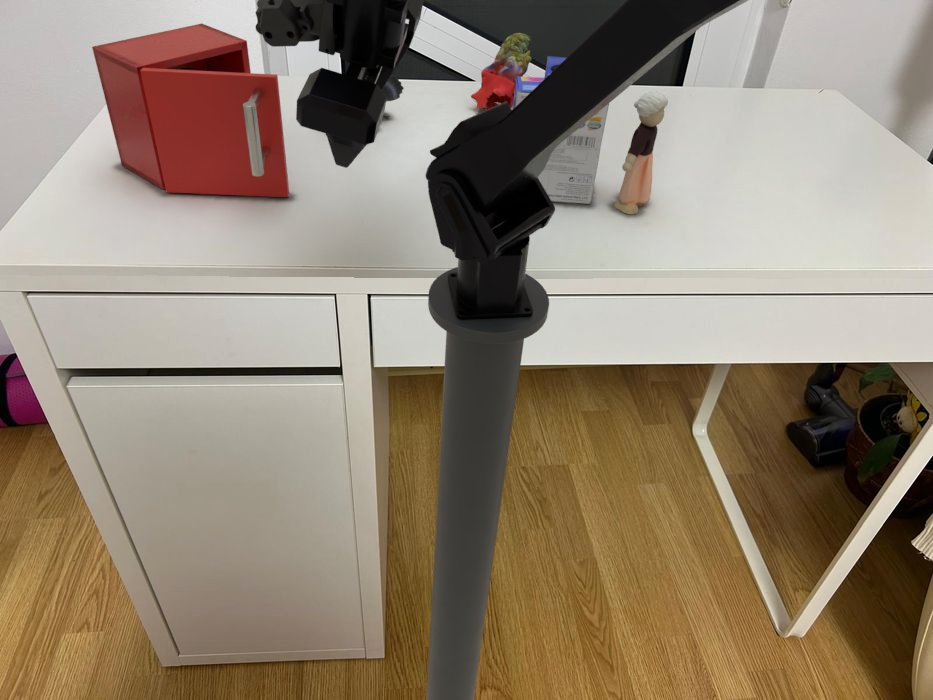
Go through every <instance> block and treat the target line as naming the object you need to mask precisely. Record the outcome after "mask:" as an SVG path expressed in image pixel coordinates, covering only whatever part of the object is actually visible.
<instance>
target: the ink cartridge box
mask: <svg viewBox="0 0 933 700" xmlns="http://www.w3.org/2000/svg"><path fill="white" fill-rule="evenodd" d="M566 58H567V57H562V56H551V55H547V56H546V65H545V72H544V76H543V77H540V76H539V77H538V76H523V77H521V76H517V77H516V81H515V91H514V100H513V106H512V110H513V109H514V108H515V107H516V106H517V105H518V104H519V103H520V102H521V101H522V100H523V99H524V98H525V97H526V96H528V95H529V94H530V93H531V92H532V91H533V90H534V89H535V88H536V87H537V86H538V85H539V84H540V83H541V82H542V81H543V80H544V79H545V78H546V77H547V76H548V75H549V74H551V73H552V72H553V71H554V70H552V68H553V67H555V66H559V65H560V64H561V63H562V62H563V61H564V60H565V59H566ZM609 105H610V103H609V104H607V105H606V106H605V107H604V108H603V109H601V110H600V111H599V112H598V113H597V114H595V115H594V116H593V117H592V118H591V119H589V120H588V121H587V122H586V123H584V124H583V125H582V126H581V127H580V128H578V129H577V130H576V131H575V132H574V133H572V134H571V135H570V136H569V137H568V138H566V139H565V140H564V141H563V142H562V143H560V144H559V145H558V146H557V147H556V148H555V149H554V150H553V152H552V153H551V156H550V158H549V160H548V162H547V164H546V166H545V168H544V170H543V171H542V172H541V174H540V175H539V176H538V179H539V181H540V182H541V184H542V186H543V187H544V189H545V191H546V193H547V194H548V196H549V198H550V199H551V201H552V202H555V203H556V202H558V203H571V204H585V205H586V204H587V205H588V204H591V203H592V200H593V194H594V188H595V182H596V178H597V173H598V172H597V171H598V166H599V161H600V154H601V147H602V142H603V138H604V137H603V136H604V132H605V126H606V121H607V116H608V113H609V112H608V111H609Z"/></svg>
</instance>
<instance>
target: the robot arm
mask: <svg viewBox="0 0 933 700" xmlns="http://www.w3.org/2000/svg"><path fill="white" fill-rule="evenodd" d="M748 1H749V0H626V1H624V2H623V3H622V5H620V6H619V7H618V8H617V9H616V10H615V11H614V12H613V13H612V14H611V15H610V16H609V17H608V18H607V19H605V21H603V23H601V24H600V25H599V26H598V27H597V28H596V29H595V30H594V31H593V32H592V33H591V34H590V35H589V36H588V37H587V38H586V39H584V41H583V42H582V43H581V44H580V45H579V46H577V47H576V48H575V50H573V52H571V53H570V54H569V55H568V56H567V57H565V58H566V59H565V60H564V61H563V62H562V63H561V64H560V65H557V67H556V68H555V69H553V70H552V71H553V72H552V73H551V74H549V75H548V76H547V77H546V78H545V79H544V80H543V81H542V82H541V83H540V84H539V85H538V86H537V87H536V88H535V89H534V90H533V91H532V92H531V93H530V94H529V95H528V96H526V97H525V98H524V99H523V100H522V101H521V102H520V103H519V104H518V105H517V106H516V107H515V108H514V109H513V108H512V107H510V106H509V104H508V102H507V101H506V102H504V103H502V104H501V103H498V104H497V106H495V107H493V108H490V109H488V110H486V111H482V112H479V113H477V114H474V115H472V116H470V117H467V118H465V119H463V120H460V121H459V123H458V124H457V125H456V126H454V128H453V130H452V131H451V132H450V134H449V136H448V137H447V139H446V141H444V143H443V144H440V145H438V146H437V147H436V146H435V147H434V148H432V149H430V150H429V154H430V155H431V156H432V157H434V159H433V160H431V162H430V163H429V165H428V167H427V168H426V172H425V179H426V180H427V189H428V197H429V201H430V204H431V209H432V213H433V218H434V222H435V226H436V230H437V234H438V237H439V241H440V245H442V246H443V247H445V248H447V249H449V250H451V251H452V253H453V254H454V258H456V259H458V260H457V267H458V272H455V273H449V274H448V283H449V287H450V292H451V296H452V300H453V305H454V309H455V313H456V317H457V318H458V319H460V320H476V319H500V318H525V317H531V316H532V315H533V308H532V306H531V303H530V300H529V297H528V295H527V292H526V289H525V286H524V279H525V274H526V271H527V262H528V256H529V248H530V241H531V240H530V239H531V237H530V236H531V235H533V234H534V233H536V232H538V231H539V230H540V229H544V228H545V227H547V226H548V224H549V222H550V220H551V219H552V217H553V215H554V214H555V212H556V206H555V205H554V203H553V201H551V199H550V198H549V196H548V194H547V193H546V191H545V189H544V187H543V186H542V184H541V182H540V181H539V179H538V176H539V175H540V174H541V172H542V171H543V170H544V168H545V166H546V164H547V162H548V160H549V158H550V156H551V153H552V152H553V150H554V149H555V148H556V147H557V146H558V145H559V144H560V143H562V142H563V141H564V140H565V139H566V138H568V137H569V136H570V135H571V134H572V133H574V132H575V131H576V130H577V129H578V128H580V127H581V126H582V125H583V124H584V123H586V122H587V121H588V120H589V119H591V118H592V117H593V116H594V115H595V114H597V113H598V112H599V111H600V110H601V109H603V108H604V107H605V106H606V105H607V104H609V105H610V103H611V102H612V101H614V100H615V99H616V98H617V97H619V96H620V95H621V94H622V93H623V92H624V91H626V90H627V89H628V88H629V87H631V86H632V85H633V84H635V83H636V81H638V80H639V79H640V78H641V77H642V76H644V75H645V74H646V73H648V72H649V71H650V70H651V69H652V68H654V67H655V66H657V64H658V63H660V62H661V61H662V60H663V59H665V58H666V57H667V56H668V55H669V54H670V53H671V52H673V51H674V50H675V49H676V48H678V47H679V46H680V45H681V44H682V43H684V42H685V41H686V40H687V39H688V38H690V37H691V36H692V35H693V34H694V33H695V32H697V31H698V30H700V28H702V27H704V26H705V25H707V24H708V23H710V22H712V21H714V20H716V19H718V18H719V17H721V16H723V15H725V14H726V13H729V12H730V11H732V10H734V9H736V8H737V7H739V6H741V5H743V4H744V3H746V2H748ZM256 6H257V9H256V10H255V16H256V19H257V23H256V25H255V30H256V32H257V34H259V35H261V36H262V38H263V41H264V42H265V43H266V44H268V45H269V46H271V47H275V48H276V47H296V46H298V45H299V43H302V42H303V43H304V42H305V43H306V42H317V41H318V52H319V53H323V54H327V55H329V56H335V54H336V53H337V54H339V58H340V59H341V60H343V61H345V62H347V63H348V67H347V69H346V71H345V73H341V72H337V71H335V70H331V69H327V68H323V67H320V68H319V69H316V70H314V71H313V72H311V73H309V74H308V77H307V79H306V81H305V83H304V85H303V87H302V89H301V91H300V93H299V95H298V97H297V100H296V111H295V112H296V116H295V119H296V122H297V123H298V124H299V125H300V127H302V128H306V129H310V130H313V131H316V132H320V133H322V134H325V136H326V138H327V142H328V145H329V147H330V150H331V154H332V157H333V160H334V163H335V165H336V166H339V167H343V168H345V169H346V168H349V166H351V164H352V163H353V162H354V161H355V160H356V158H357V157H358V156H359V154H360V153H361V152H362V151H363V150H364V149H365V148H366V146H368V145H369V144H373V143H375V140H376V138H377V135H378V133H379V130H380V127H381V125H382V122H383V119H384V115H383V114H384V113H385V111H386V104H387V101H386V99H387V97H386V96H385V94H384V93H383V92H382V89H383V87H384V86H385V84H386V83H387V81H388V79H389V78H390V76H391V75H392V76H393V73H394V72H395V70H396V68H397V67H398V65H399V64H400V63H401V61H402V60H403V58H404V56H405V54H407V52H408V50H409V48H410V47H411V44H412V42H413V39H414V37H415V33H416V31H417V28H418V25H419V23H420V20H421V17H422V11H423V6H424V0H257V2H256ZM406 20H408V23H407V21H406Z"/></svg>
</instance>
